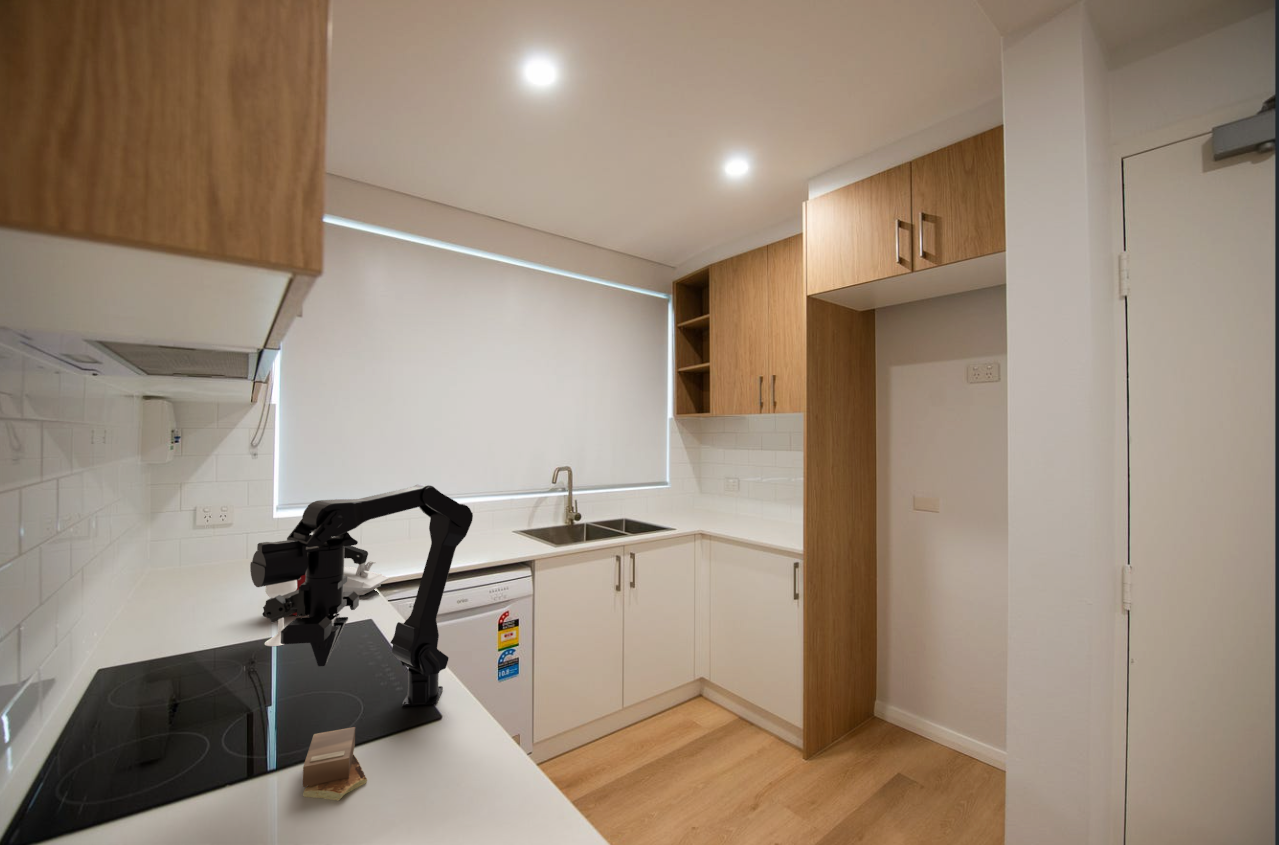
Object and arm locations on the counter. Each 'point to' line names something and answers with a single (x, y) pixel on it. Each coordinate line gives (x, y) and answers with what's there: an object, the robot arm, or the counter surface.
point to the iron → (360, 573)
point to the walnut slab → (329, 757)
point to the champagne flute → (273, 592)
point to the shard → (338, 784)
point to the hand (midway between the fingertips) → (322, 665)
